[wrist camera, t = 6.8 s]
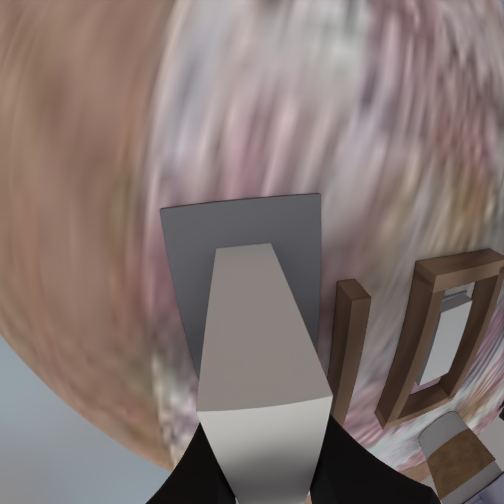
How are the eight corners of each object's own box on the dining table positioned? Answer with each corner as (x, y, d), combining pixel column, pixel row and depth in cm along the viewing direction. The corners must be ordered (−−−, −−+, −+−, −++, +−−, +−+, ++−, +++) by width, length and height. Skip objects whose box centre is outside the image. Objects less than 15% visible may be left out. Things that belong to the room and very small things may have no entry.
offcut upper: (464, 293, 14) (472, 300, 14) (442, 365, 17) (448, 372, 16) (433, 305, 14) (441, 312, 14) (413, 378, 17) (418, 386, 16)
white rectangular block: (270, 243, 12) (332, 395, 4) (277, 393, 16) (300, 513, 8) (216, 248, 12) (196, 411, 4) (239, 397, 16) (248, 519, 8)
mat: (318, 193, 12) (320, 194, 12) (310, 402, 17) (311, 405, 16) (161, 208, 12) (159, 209, 11) (210, 413, 16) (210, 416, 16)
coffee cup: (423, 420, 21) (475, 517, 7) (472, 394, 21) (525, 472, 7) (400, 453, 24) (436, 535, 9) (447, 431, 24) (486, 501, 10)
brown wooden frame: (490, 248, 14) (508, 258, 12) (442, 386, 19) (452, 400, 17) (337, 272, 13) (353, 291, 11) (319, 427, 18) (324, 446, 16)
